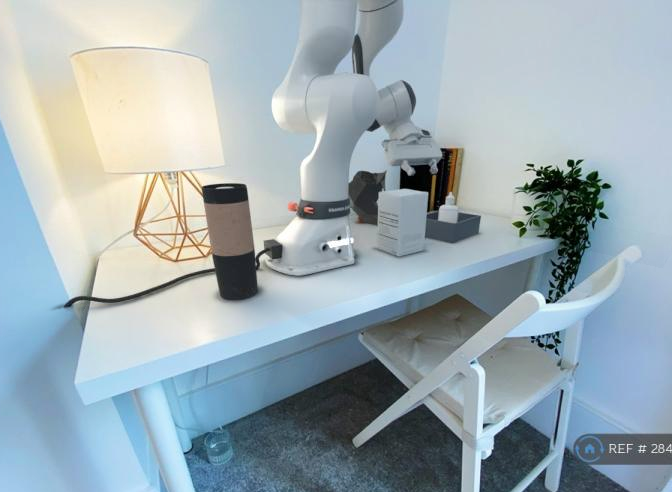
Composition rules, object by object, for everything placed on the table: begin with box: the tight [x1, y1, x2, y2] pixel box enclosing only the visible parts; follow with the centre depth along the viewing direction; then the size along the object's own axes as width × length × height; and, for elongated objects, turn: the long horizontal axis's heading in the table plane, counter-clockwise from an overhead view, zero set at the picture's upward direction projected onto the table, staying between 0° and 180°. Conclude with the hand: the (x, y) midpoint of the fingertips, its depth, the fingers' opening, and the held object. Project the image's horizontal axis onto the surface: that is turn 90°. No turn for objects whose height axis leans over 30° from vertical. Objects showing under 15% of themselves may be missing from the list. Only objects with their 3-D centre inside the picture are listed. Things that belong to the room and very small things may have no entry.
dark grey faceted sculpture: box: [348, 169, 388, 226], centre depth 115 cm, size 14×15×18 cm
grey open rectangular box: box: [425, 210, 482, 244], centre depth 103 cm, size 15×13×5 cm
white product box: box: [376, 188, 429, 258], centre depth 87 cm, size 9×9×15 cm
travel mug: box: [201, 182, 259, 301], centre depth 62 cm, size 8×8×20 cm
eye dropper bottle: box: [438, 191, 460, 223], centre depth 101 cm, size 4×6×12 cm
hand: (423, 173), depth 107 cm, fingers open, 8 cm apart
